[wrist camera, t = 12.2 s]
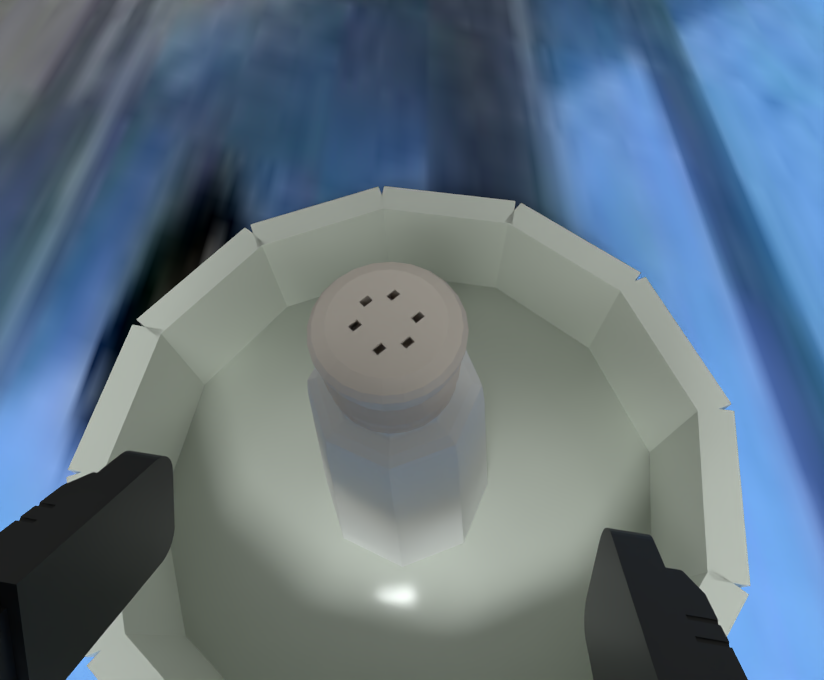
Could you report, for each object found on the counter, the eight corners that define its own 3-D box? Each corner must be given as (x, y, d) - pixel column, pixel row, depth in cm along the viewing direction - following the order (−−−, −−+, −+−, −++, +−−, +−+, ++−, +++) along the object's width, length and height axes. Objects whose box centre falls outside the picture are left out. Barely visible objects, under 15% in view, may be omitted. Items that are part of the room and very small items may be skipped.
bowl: (46, 520, 20) (-61, 485, 16) (383, 205, 26) (374, 117, 22) (456, 985, 15) (469, 1133, 10) (761, 448, 21) (851, 395, 16)
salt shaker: (293, 477, 20) (164, 315, 10) (411, 378, 21) (398, 154, 12) (400, 606, 18) (369, 561, 8) (520, 485, 19) (615, 327, 10)
